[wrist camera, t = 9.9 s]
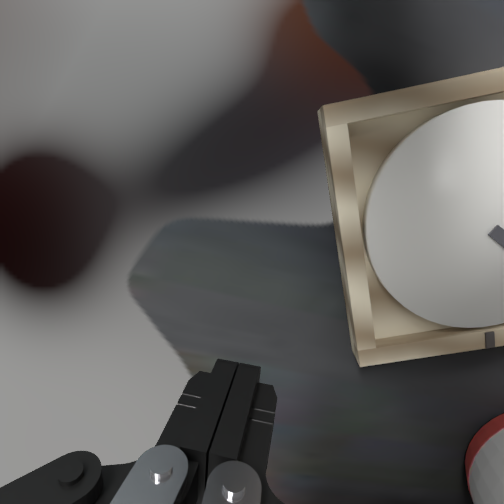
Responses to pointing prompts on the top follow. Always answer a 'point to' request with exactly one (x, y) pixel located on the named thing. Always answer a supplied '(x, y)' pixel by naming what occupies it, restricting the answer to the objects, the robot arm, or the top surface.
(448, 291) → the dial
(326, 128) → the dial housing
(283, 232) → the top surface
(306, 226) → the top surface
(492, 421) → the citrus juicer
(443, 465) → the top surface
